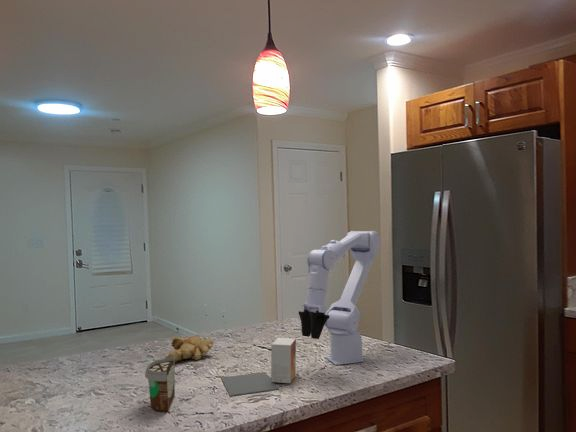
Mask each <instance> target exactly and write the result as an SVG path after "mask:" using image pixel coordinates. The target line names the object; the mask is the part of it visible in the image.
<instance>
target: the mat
mask: <svg viewBox="0 0 576 432" xmlns="http://www.w3.org/2000/svg"><path fill="white" fill-rule="evenodd" d="M220 379H221V382H222V383H223V385H224V387H225V390H226V391H227V393H228V395H229V397H236V396H243V395H248V394H249V395H250V394H257V393H264V392H265V393H266V392H271V391H278V390H280V389H279V386H278V385H277V384H276V382H271V376H270V375H268V373H267V372H266V371H262V372H255V373H247V374H239V375H233V376H232V375H230V376H225V377H224V376H223V377H220Z"/></svg>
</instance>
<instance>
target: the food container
mask: <svg viewBox="0 0 576 432" xmlns="http://www.w3.org/2000/svg"><path fill="white" fill-rule="evenodd" d="M175 362H176V361H175V360H174V358H166V357H165V358H161V359H158V360H155V361H151V362H150V363H149V364H148V365H147V367H146V368H145V373H144V377H145V378H146V379H147V382H148V390H149V400H150V409H151V410H152V411H154V412H156V413H167V412H168V413H170V411H171V408H172V405H173V403H174V401H175V399H176V395H175V393H176V390H175V389H176V387H175V385H176V384H175V383H176V382H175V377H176V375H175V365H176V364H175Z"/></svg>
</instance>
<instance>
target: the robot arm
mask: <svg viewBox="0 0 576 432" xmlns="http://www.w3.org/2000/svg"><path fill="white" fill-rule="evenodd" d="M320 247H321V248H319V249H313V250H311V251H310V252H309V253H308V255H307V257H306V264H307V273H308V280H307V286H306V295H305V301H304V302H301V303H300V305H301V306H302V311H298V315H299V319H300V325H301V335H302V337H307V338H309V337H310V338H311V339H315V340H320V337H321V335H322V332H323V330H324V329H323V328H324V327H325V328H326V329H327V332H328V333H329V335H330V336H329V337H330V339H329V340H330V355H329V356H326V357H325V358H326V360H328V361H330V362H331V363H332V364H334V365H335V366H340V365H348V364H355V363H362V362H363V363H364V359H363V339H362V335H361V333H360V332H359V331H358V329H359V324H360V317H361V312H360V309H359V307H357V303H358V302H359V301H358V300H359V298H360V296H361V293H362V290H363V288H364V284H365V283H366V280H367V278H368V275H369V272H370V270H371V268H372V265H373V260H375V259H376V257H377V255H378V252H379V249H380V247H381V237H380V234H379V232H378V231H376V230H367V231H366V230H361V231H359V230H358V231H357V230H356V231H355V230H350V232H349V231H348V232H347V233H346V236H345V237H343V238H342V239H341V240H336V239H332V240H330V241H329V243H327V244H326V245H322V246H320ZM348 250H349V253H350V255H351V258H353V259H354V260H355V263H354V265H353V267H352V270H351V272H350V275H349V277H348V279H347V282H346V284H345V286H344V289H343V291H342V294H341V297H340V299H339V300H337V301H335V302H333V303H331V305H330V307H329V308H328V306H327V305H326V299H327V298H326V297H327V289H328V284H329V283H328V282H329V275H330V270H331V269H333V268H334V266H335V264H336V262H337V261H339V260H340V259H342V258H343V257H344V256H345V254H346V252H347V251H348Z"/></svg>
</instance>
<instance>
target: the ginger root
mask: <svg viewBox="0 0 576 432" xmlns="http://www.w3.org/2000/svg"><path fill="white" fill-rule="evenodd" d="M171 340H172V341H171V346H172V347H173V350H170V351H169V353H168V354H167V355H166V357H165V358H174V360H175V362H179V361H182V360H189V359H192V360H195V361H198V360H200V359H201V358H202V356H203V355H207V354H208V352H209V351H210V350H211V349H212V347H213V344H214V339H213V338H202V337H198V336H189V337H188V336H187V337H184V338H182V337H179V336H176V337H174V338H172V339H171Z"/></svg>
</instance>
